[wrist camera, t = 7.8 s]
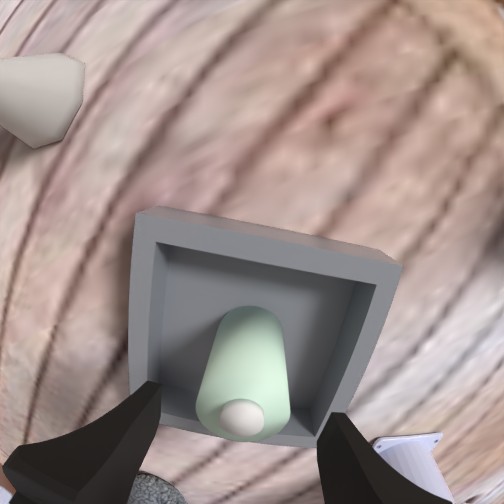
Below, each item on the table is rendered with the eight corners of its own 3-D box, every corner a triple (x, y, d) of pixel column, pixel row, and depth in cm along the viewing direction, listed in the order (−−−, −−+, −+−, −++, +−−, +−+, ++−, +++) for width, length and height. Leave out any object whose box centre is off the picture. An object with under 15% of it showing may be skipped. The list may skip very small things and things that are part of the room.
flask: (71, 155, 17) (-48, 154, 7) (7, 144, 16) (-92, 146, 7) (102, 53, 15) (6, -6, 5) (33, 56, 15) (-56, 25, 5)
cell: (274, 365, 19) (277, 455, 11) (213, 354, 19) (189, 441, 11) (289, 312, 18) (303, 395, 10) (222, 299, 18) (197, 378, 10)
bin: (319, 416, 21) (325, 448, 17) (146, 385, 20) (131, 414, 17) (379, 250, 17) (403, 266, 14) (159, 205, 17) (136, 213, 14)
